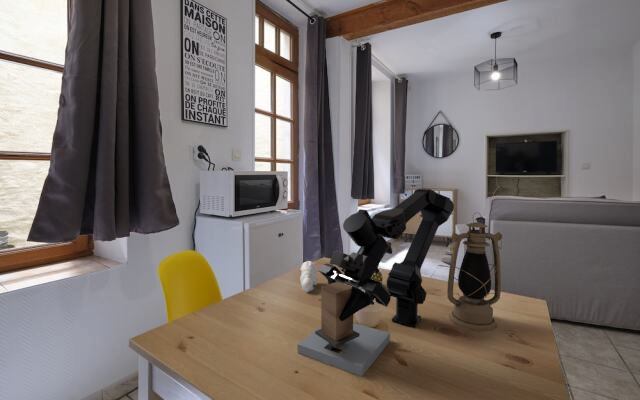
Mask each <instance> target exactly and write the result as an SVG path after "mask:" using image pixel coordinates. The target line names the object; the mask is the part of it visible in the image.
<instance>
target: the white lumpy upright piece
mask: <svg viewBox="0 0 640 400" xmlns="http://www.w3.org/2000/svg"><path fill="white" fill-rule="evenodd" d="M299 270H300V271H301V272H300V273H301V275H300V277H299V281H300V285H301V286H300V288H301V290H302V291H304V292H306V293H309V292H312V291H313V290H314V286H317V285H318V283H317V281H318V278H317V273H318V271H319V270H318V266H317V265H316V263H315V262H314V261H311V260H306V261H305V262H303V263H302V264H301V266H300V269H299Z"/></svg>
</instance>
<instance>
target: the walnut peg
mask: <svg viewBox="0 0 640 400" xmlns="http://www.w3.org/2000/svg"><path fill="white" fill-rule="evenodd" d="M320 290H321V291H320V292H321V297H320V298H321V299H320V300H321V302H320V303H321V304H320V305H321V307H320V308H321V311H320V313H321V315H320V316H321V323H320V324H321V326H320V327H321V329H319V330H317V329H316V330H317V331H315V330H314V331H315V334H316V335H318V336H319V337H321V338H322V339H324V340H326V341H327V342H329V343H330V345H331V346H333V347H337V348H338V347H342V346H344V343H346V342H348V341H350V340H353V339H355V338H357V337H359V336H360V334H359V333H357V332H356V331H354V330H353V323H354V314H353V315H351V316H350V317H348V318H347V319H345V320H344V321H341V320H340V319H339V317H340V315H341V313H342V311H343V309H344V307H345V305H346V304H347V302H348V300H349V298H350V297H351V291H352V286H349V285H347V284H343V283H341V282H335V283H332V284H325V285H321V286H320Z"/></svg>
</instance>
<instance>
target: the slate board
mask: <svg viewBox="0 0 640 400" xmlns="http://www.w3.org/2000/svg"><path fill="white" fill-rule="evenodd" d="M319 329H321V326H319V327H318V328H316V329H315V330H314V331H313V332H311V333H310V334H309V335H307V336H306V337H305V338H304V339H302V340H301V341H300V342H298V343H297V345H296V346H297V347H296V348H297V353H298V354H300V355H302V356H306V357H308V358H311V359H313V360H316V361H319V362H321V363H324V364H327V365H329V366H332V367H335V368H338V369H341V370H344V371H346V372H349V373H352V374H353V375H356V376H360V377H363V376H364V374H366V372H367V371H368V370H369V369H370V367H371V366H372V364H374V362H375V360H377V358H378V357H379V356H380V354H382V352H383V350H384V349H385V348H386V347H387V346H388V344H389V343H390V342H391V332H388V331H384V330H381V329H377V328H373V327H370V326H366V325H361V324H359V323H355V322H353V330H354V331H356V332H357V333H359V334H360V336H359V337H357V338H355V339H353V340H350V341H348V342H346V343H344V346H342V347H338V348H337V347H333V346H331V345H330V343H329V342H327V341H326V340H324V339H322V338H321V337H319V336H318V335H316V334H315V331H317V330H319ZM332 349H337V350H340V351H342V352H341V353H339V352H336V351H334V350H332Z"/></svg>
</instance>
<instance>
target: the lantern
mask: <svg viewBox="0 0 640 400" xmlns="http://www.w3.org/2000/svg"><path fill="white" fill-rule="evenodd" d="M475 214H476V212H474V213H473V215H472V216H474V215H475ZM478 214H479V215H480V216H479V217H480V218H479V219H481V217H482V216H481V214H480V212H478ZM472 221H473V222H470V223H467V224H466V226H467V227H468V231H467V232H463V233H462V232H461V233H459V234H458V233H456V232H455V231H454V232H453V233H452V234H451V239H452V240H453V244H452V246H451V247H450V251H451V253H450V262H449V270H448V280H447V291H446V292H447V294H446V295H447V296H446V297H447V299H448V300H449V302H450V303H451V304H453V310H452V311H451V312H450V313H449V315H448V319H449V321H450V322H452V323H453V324H454V325H456V326H459V327H461V328H462V329H465V330H469V331H475V332H490V331H494V330H496V329H497V328H498V322H497V321H496V319H495V318H494V317H493V316H494V315H493V314H494V308H493V307H492V305H494V304H497V302H498V301H499V300H500V299H501V291H502V290H501V289H502V288H501V287H502V286H501V285H502V284H501V283H502V280H501V277H502V275H501V274H502V273H501V257H500V250H502V247H503V245H502V242H503V241H501V240H502V239H503V234H502V233H501V231H497V232H496V233H495V234H493V233H490V232H485V228H488V225H487V224H485V223H481V220H479V221H478V222H477V221H476V222H475V221H474V218H472ZM475 228H479V229H475ZM463 239H466V240H464V241H463ZM486 239H490V241H491V245H492V254H493V264H490V263H489V261H488V257H487V254H486V253H487V251H486V248H487V247H490V246H491V245H490V243H488V242H487V240H486ZM499 241H500V246H499V243H498V242H499ZM461 242H462V244H463V245H465V246H466V248H465V253H464V256H463V258H462V262H461V265H460V268H459V267H457V259H458V255H459V249H460V246H461ZM490 266H492V267H491V269H490ZM493 268H494V273H493V274H492V276H491V272H492V270H493ZM456 269H458V270H459V273H458V277H457V278H456V277H455V273H456ZM493 276H494V292H491V290H492V278H493ZM455 280H456V281H457V285H458V288H459V290H460V292H461V293H462V295H460V294H459V293H457V295H458V296H459V297H458V298H457V299H456V298H455V297H454V283H455ZM490 292H491V293H490ZM490 294H492V295H493V297H491V298H490V299H487V297H488V296H489V295H490Z"/></svg>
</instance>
